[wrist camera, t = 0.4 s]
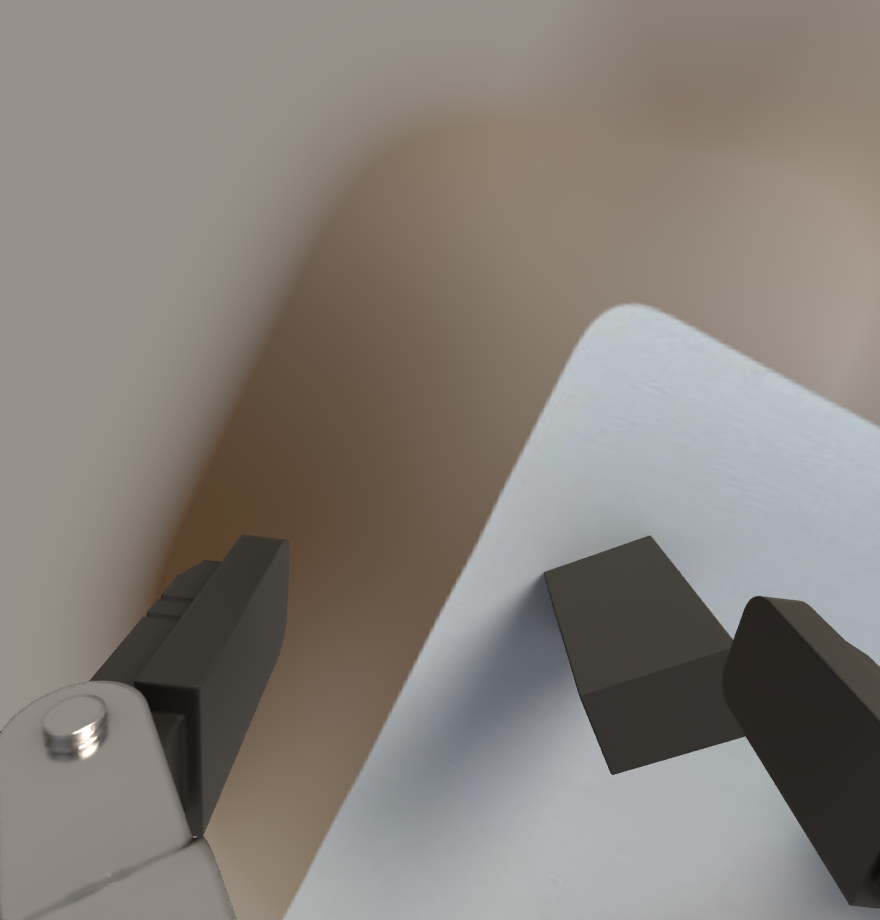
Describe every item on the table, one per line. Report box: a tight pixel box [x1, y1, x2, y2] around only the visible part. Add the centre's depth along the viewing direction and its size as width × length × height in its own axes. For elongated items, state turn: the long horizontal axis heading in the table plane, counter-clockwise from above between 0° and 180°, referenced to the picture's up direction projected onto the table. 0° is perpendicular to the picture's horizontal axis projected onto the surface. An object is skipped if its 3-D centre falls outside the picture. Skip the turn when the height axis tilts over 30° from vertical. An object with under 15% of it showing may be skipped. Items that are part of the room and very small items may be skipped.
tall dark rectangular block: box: [544, 536, 745, 775], centre depth 26 cm, size 4×6×10 cm, turn 112°
